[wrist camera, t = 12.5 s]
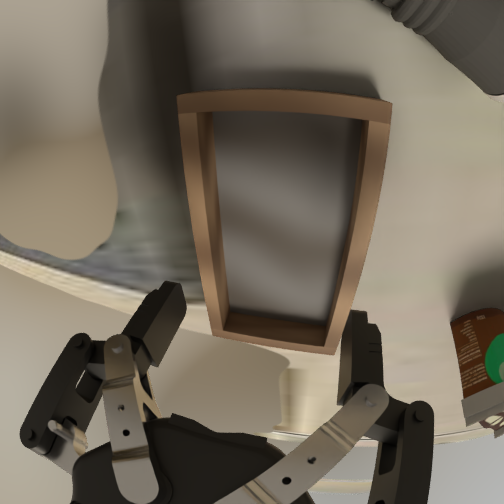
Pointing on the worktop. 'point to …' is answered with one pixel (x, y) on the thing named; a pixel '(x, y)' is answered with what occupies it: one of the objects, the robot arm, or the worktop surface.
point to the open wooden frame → (282, 208)
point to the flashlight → (461, 35)
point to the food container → (481, 366)
